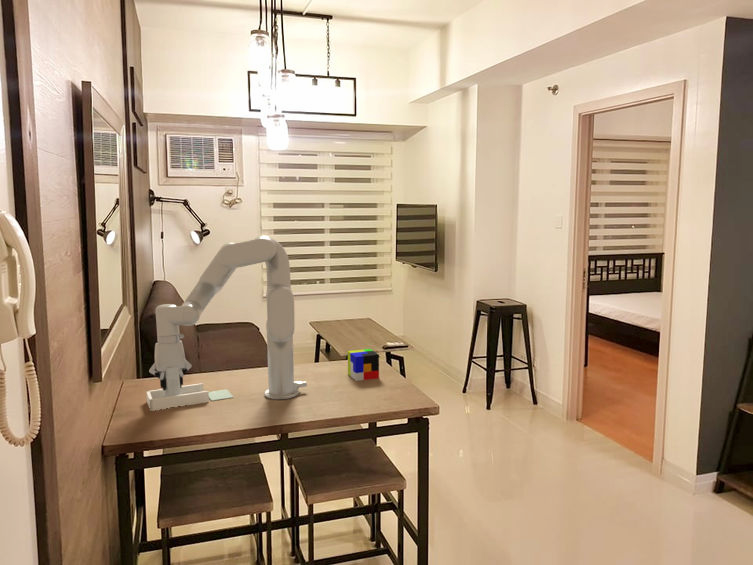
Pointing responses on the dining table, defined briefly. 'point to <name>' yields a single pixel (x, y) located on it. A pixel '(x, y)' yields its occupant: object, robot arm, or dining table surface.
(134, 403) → the dining table surface
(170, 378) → the skincare box
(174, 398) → the lane
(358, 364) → the puzzle toy
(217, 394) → the mat
